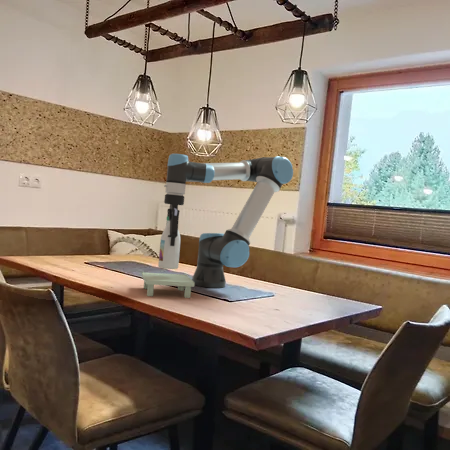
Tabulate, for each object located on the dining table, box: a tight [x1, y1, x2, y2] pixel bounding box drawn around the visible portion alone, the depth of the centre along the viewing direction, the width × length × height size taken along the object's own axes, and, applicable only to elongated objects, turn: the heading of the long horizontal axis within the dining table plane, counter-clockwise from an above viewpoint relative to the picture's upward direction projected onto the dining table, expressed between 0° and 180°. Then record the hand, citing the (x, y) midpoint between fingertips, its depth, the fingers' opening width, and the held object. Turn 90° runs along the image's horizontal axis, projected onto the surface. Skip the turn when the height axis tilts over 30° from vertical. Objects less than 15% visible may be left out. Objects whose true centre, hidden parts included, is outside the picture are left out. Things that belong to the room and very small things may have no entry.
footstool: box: [141, 272, 196, 299], centre depth 184 cm, size 18×18×6 cm
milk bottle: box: [157, 215, 181, 270], centre depth 183 cm, size 8×8×20 cm
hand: (169, 253), depth 183 cm, fingers closed on milk bottle, 8 cm apart
